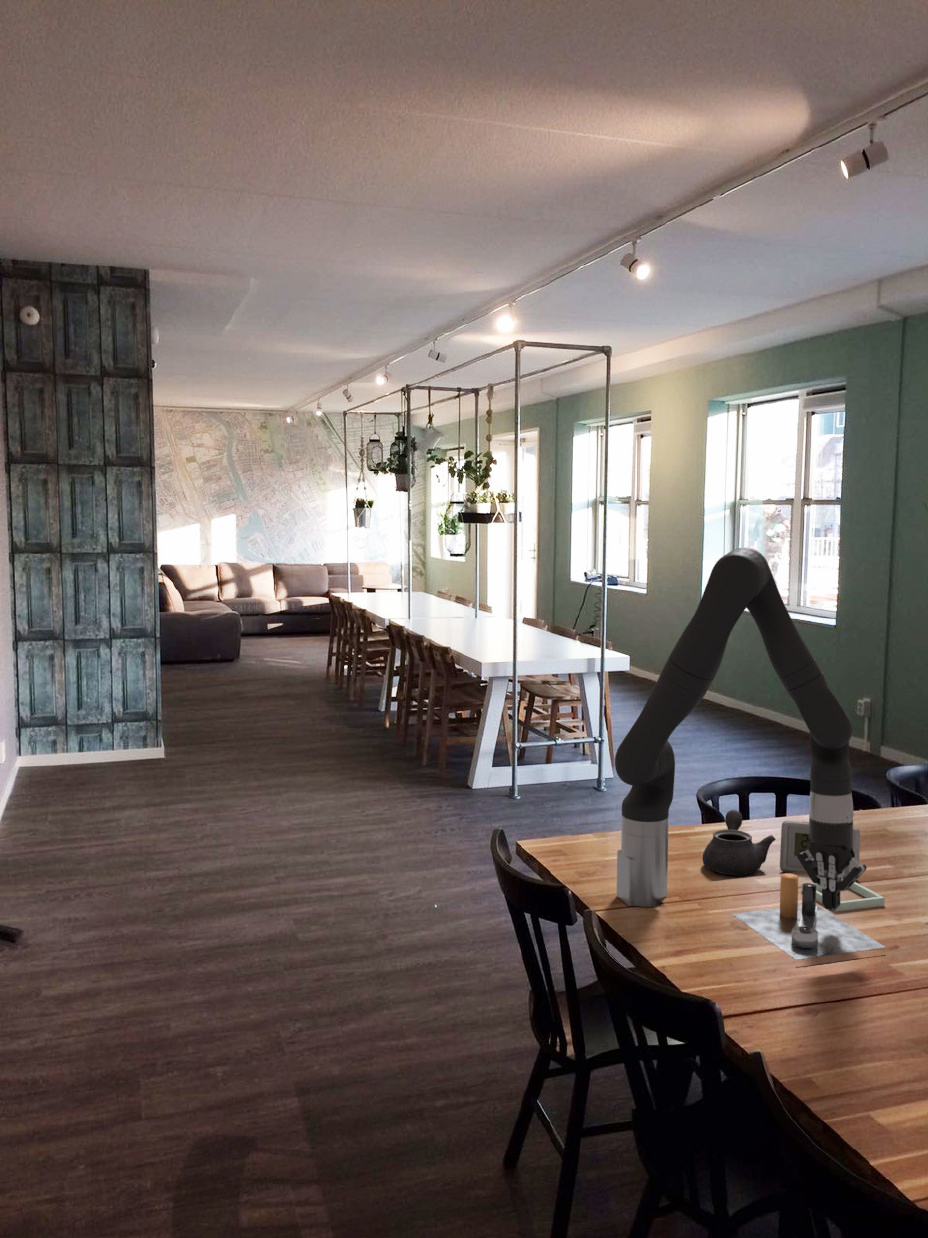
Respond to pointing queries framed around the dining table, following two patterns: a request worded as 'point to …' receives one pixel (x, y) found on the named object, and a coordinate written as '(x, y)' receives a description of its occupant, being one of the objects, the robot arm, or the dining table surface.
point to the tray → (869, 900)
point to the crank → (807, 919)
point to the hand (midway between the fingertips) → (831, 908)
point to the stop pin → (789, 895)
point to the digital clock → (803, 845)
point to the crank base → (830, 928)
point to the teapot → (735, 849)
